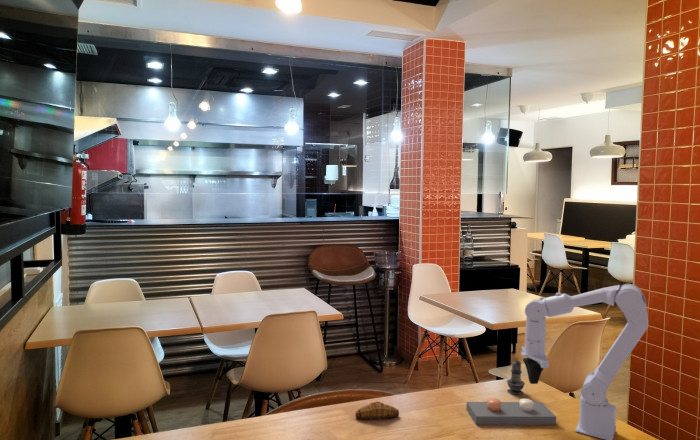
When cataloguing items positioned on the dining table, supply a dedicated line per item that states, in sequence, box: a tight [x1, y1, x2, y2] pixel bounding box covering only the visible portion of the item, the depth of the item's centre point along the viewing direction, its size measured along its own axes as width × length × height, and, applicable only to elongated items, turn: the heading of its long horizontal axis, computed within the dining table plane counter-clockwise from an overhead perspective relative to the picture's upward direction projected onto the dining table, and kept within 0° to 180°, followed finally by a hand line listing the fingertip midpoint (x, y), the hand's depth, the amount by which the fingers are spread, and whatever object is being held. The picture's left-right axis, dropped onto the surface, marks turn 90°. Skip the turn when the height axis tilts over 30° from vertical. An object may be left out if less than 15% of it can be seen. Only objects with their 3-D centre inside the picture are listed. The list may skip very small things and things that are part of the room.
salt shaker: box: [506, 358, 526, 396], centre depth 167 cm, size 6×6×12 cm
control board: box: [465, 401, 557, 426], centre depth 149 cm, size 24×10×2 cm, turn 92°
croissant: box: [354, 401, 400, 421], centre depth 146 cm, size 14×7×5 cm, turn 100°
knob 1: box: [486, 397, 502, 412], centre depth 148 cm, size 4×4×5 cm
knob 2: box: [519, 398, 535, 412], centre depth 149 cm, size 4×4×5 cm
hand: (533, 383), depth 149 cm, fingers closed
